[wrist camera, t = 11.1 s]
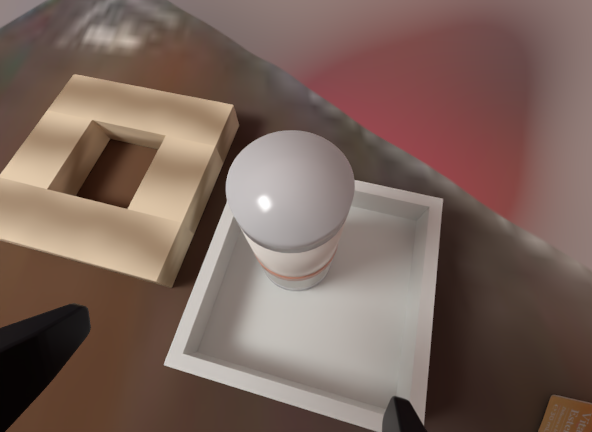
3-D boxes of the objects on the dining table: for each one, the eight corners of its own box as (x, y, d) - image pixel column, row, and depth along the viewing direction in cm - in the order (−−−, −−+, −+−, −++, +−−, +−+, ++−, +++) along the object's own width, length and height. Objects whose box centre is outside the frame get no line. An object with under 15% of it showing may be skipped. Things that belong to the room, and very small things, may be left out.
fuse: (323, 300, 20) (340, 259, 10) (251, 281, 21) (205, 226, 11) (338, 231, 22) (365, 143, 12) (272, 215, 23) (249, 120, 13)
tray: (401, 427, 18) (422, 445, 15) (186, 361, 20) (163, 365, 17) (423, 218, 23) (443, 198, 20) (252, 180, 25) (244, 156, 22)
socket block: (171, 287, 22) (156, 281, 19) (-5, 238, 23) (-39, 227, 21) (239, 125, 27) (233, 105, 25) (92, 95, 29) (74, 74, 27)
